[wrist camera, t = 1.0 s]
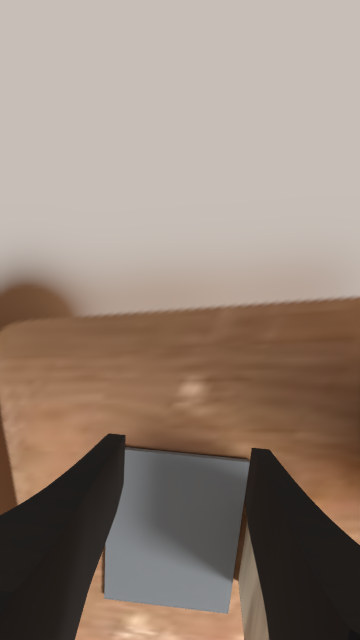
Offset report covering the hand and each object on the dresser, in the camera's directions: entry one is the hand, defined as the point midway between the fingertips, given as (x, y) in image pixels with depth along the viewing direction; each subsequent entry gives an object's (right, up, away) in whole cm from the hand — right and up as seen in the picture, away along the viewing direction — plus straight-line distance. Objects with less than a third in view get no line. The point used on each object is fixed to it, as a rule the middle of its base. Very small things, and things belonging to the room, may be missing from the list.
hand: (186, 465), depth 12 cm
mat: (-1, -11, +14) cm, 17 cm away
